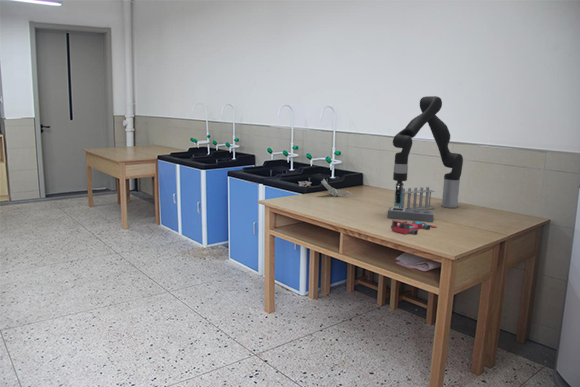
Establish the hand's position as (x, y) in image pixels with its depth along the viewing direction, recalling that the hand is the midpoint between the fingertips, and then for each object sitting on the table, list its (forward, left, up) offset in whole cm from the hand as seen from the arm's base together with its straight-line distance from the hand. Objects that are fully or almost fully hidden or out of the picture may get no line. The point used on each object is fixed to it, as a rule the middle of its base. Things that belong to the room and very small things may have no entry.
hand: (398, 202), depth 267 cm
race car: (+24, +11, -9) cm, 28 cm away
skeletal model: (-46, -47, -9) cm, 66 cm away
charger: (0, 0, -2) cm, 2 cm away
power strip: (0, +7, -8) cm, 11 cm away
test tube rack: (-25, +7, -9) cm, 27 cm away
